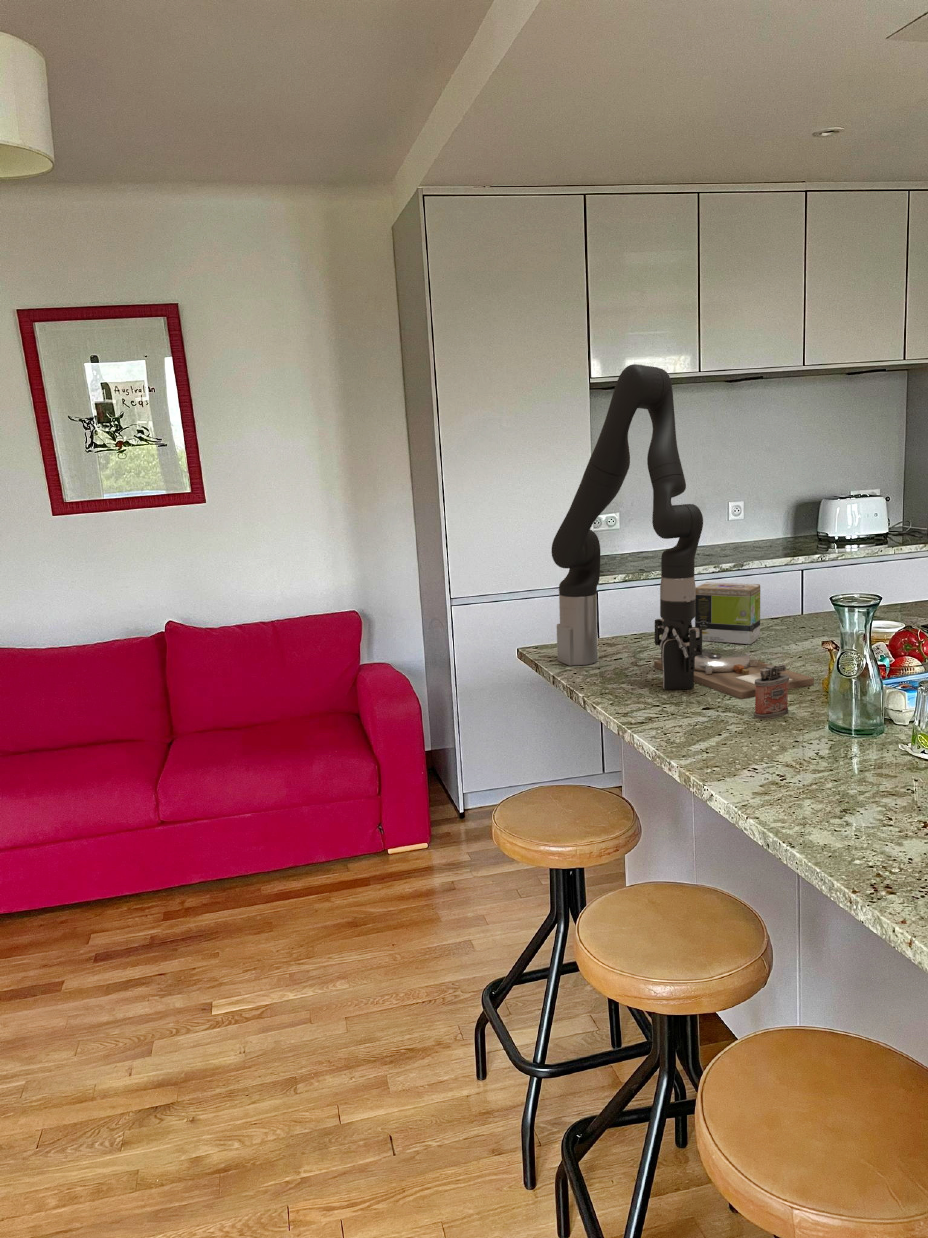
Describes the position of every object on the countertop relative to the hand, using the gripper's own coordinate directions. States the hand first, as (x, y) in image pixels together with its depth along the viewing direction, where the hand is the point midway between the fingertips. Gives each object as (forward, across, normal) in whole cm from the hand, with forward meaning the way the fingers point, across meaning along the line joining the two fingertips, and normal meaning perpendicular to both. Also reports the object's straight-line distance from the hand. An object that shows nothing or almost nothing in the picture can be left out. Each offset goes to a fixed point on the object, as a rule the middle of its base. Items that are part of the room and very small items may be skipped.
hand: (677, 669), depth 200 cm
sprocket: (+3, -7, +16) cm, 18 cm away
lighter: (+5, +25, +4) cm, 26 cm away
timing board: (+4, -2, +16) cm, 17 cm away
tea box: (+4, -30, +39) cm, 49 cm away
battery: (+4, 0, 0) cm, 4 cm away
